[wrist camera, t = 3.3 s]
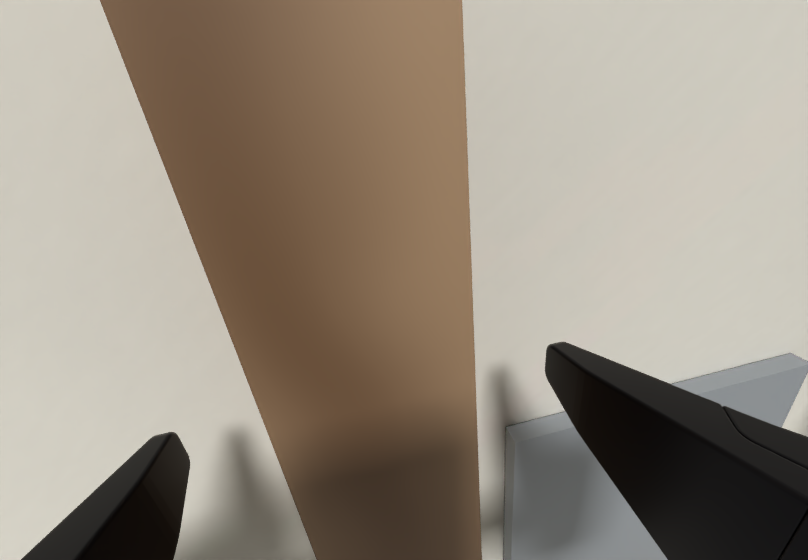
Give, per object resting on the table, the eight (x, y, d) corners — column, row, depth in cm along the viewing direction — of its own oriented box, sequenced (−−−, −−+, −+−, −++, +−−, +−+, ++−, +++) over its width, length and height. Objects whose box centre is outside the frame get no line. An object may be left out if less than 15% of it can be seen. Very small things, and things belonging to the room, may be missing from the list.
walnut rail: (382, -32, 8) (455, -186, 4) (438, 487, 16) (483, 629, 12) (194, -17, 8) (31, -178, 3) (348, 512, 16) (360, 671, 11)
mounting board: (791, 352, 17) (811, 363, 16) (677, 612, 28) (687, 625, 27) (505, 426, 15) (515, 442, 14) (501, 675, 26) (506, 691, 25)
